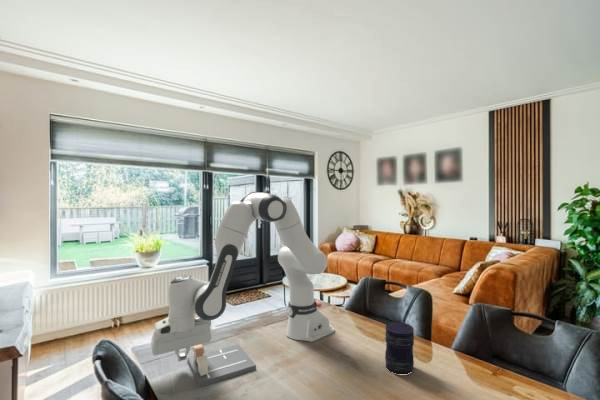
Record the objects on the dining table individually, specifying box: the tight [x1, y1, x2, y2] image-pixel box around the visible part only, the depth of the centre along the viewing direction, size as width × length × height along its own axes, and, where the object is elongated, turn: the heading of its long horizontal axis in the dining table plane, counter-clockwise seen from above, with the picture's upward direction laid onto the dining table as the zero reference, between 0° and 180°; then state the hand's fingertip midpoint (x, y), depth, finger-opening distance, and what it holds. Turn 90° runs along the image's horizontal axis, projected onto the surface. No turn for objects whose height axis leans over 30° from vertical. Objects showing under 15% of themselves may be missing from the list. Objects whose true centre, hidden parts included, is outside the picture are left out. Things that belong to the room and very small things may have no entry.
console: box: [187, 344, 257, 388], centre depth 115 cm, size 20×18×2 cm
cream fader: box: [197, 355, 209, 376], centre depth 108 cm, size 3×4×5 cm
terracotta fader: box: [192, 344, 205, 363], centre depth 116 cm, size 3×4×5 cm
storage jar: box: [384, 321, 415, 375], centre depth 114 cm, size 10×10×15 cm
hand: (182, 359), depth 113 cm, fingers closed
